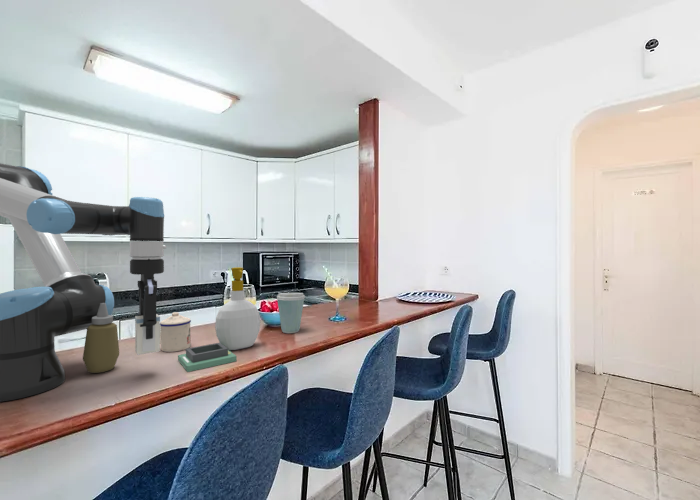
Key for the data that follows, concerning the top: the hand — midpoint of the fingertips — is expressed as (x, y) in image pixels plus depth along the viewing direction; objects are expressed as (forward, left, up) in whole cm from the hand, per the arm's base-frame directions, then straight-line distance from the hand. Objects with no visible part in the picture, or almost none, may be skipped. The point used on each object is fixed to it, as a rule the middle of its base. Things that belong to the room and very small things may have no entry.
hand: (147, 348), depth 88 cm
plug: (0, 0, -1) cm, 1 cm away
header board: (+15, +1, -7) cm, 16 cm away
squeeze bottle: (-10, +12, -7) cm, 17 cm away
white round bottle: (+26, +7, -7) cm, 28 cm away
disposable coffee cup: (+49, +15, -7) cm, 52 cm away
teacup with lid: (+10, +22, -7) cm, 26 cm away
